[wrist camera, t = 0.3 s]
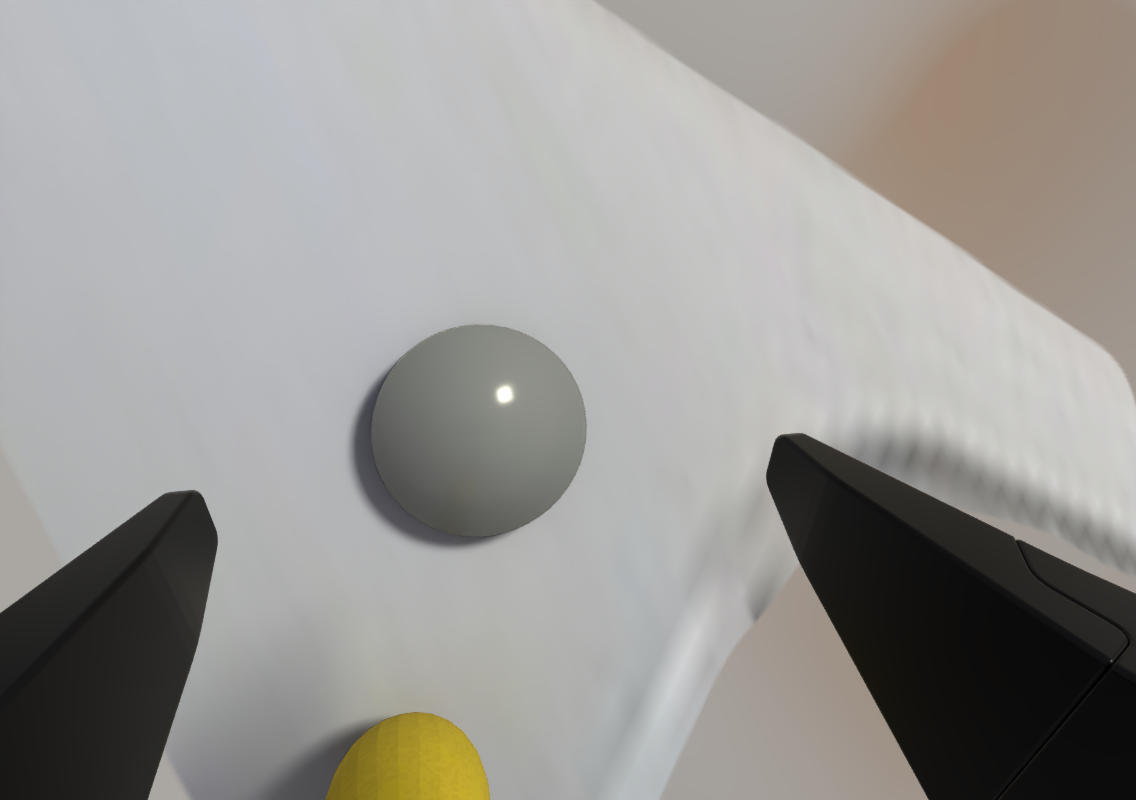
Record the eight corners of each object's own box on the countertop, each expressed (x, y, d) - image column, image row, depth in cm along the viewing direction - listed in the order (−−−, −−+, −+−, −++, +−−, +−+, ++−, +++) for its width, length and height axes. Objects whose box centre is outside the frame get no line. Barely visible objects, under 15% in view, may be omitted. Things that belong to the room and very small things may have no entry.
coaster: (609, 469, 25) (617, 475, 24) (431, 563, 23) (433, 574, 23) (529, 290, 23) (535, 289, 22) (332, 380, 22) (329, 383, 21)
